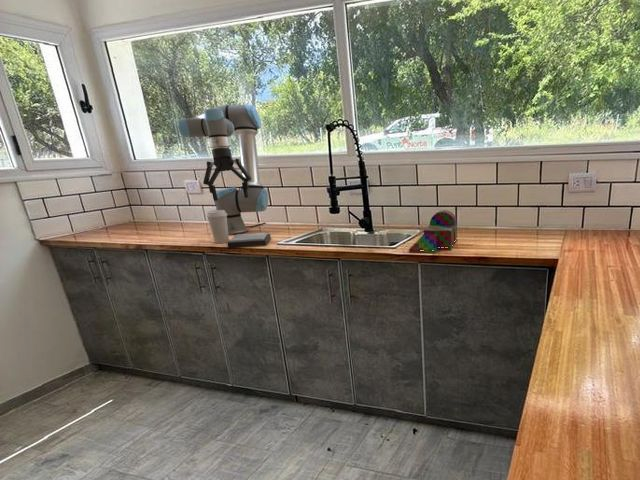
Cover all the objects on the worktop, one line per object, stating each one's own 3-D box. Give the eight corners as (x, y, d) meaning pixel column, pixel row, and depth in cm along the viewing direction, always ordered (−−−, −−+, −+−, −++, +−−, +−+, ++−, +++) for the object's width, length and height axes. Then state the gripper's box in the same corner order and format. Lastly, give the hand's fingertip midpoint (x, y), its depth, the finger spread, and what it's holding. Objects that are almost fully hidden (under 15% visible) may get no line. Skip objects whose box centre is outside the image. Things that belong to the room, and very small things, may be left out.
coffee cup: (235, 240, 225) (230, 209, 219) (226, 244, 216) (220, 212, 210) (217, 240, 226) (211, 209, 220) (207, 244, 217) (201, 212, 211)
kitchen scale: (235, 240, 224) (234, 234, 223) (271, 238, 226) (270, 232, 225) (228, 247, 208) (226, 241, 207) (266, 245, 210) (265, 238, 209)
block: (421, 240, 212) (420, 209, 207) (456, 240, 209) (456, 209, 204) (409, 252, 189) (408, 218, 184) (449, 253, 186) (449, 218, 181)
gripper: (187, 150, 189) (199, 202, 195) (246, 144, 189) (256, 196, 195) (195, 151, 196) (206, 201, 202) (252, 146, 196) (261, 196, 202)
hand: (231, 199), depth 199 cm, fingers open, 13 cm apart
